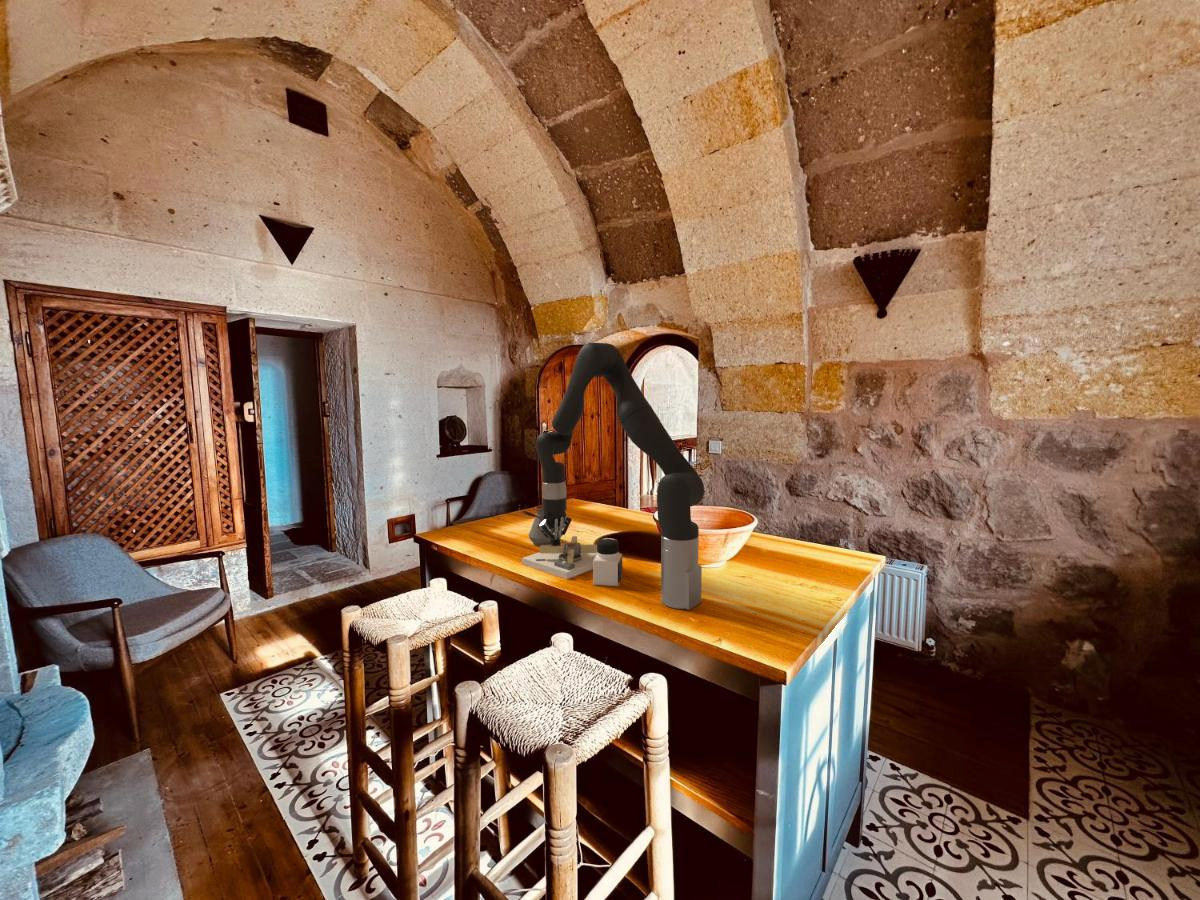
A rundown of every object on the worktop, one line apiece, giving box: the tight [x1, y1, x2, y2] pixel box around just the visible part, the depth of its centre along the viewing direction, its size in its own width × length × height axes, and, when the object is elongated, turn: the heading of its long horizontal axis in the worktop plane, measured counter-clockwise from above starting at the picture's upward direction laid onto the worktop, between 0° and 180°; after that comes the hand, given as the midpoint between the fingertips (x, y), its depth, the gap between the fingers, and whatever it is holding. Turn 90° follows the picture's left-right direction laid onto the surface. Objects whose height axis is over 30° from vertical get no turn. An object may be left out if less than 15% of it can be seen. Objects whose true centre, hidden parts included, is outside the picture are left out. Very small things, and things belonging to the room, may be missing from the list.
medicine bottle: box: [592, 537, 623, 587], centre depth 139 cm, size 7×7×12 cm
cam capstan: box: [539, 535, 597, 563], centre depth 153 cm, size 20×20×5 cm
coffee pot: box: [518, 505, 551, 546], centre depth 172 cm, size 21×12×15 cm, turn 159°
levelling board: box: [521, 551, 597, 580], centre depth 155 cm, size 20×19×4 cm
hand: (555, 549), depth 156 cm, fingers closed
